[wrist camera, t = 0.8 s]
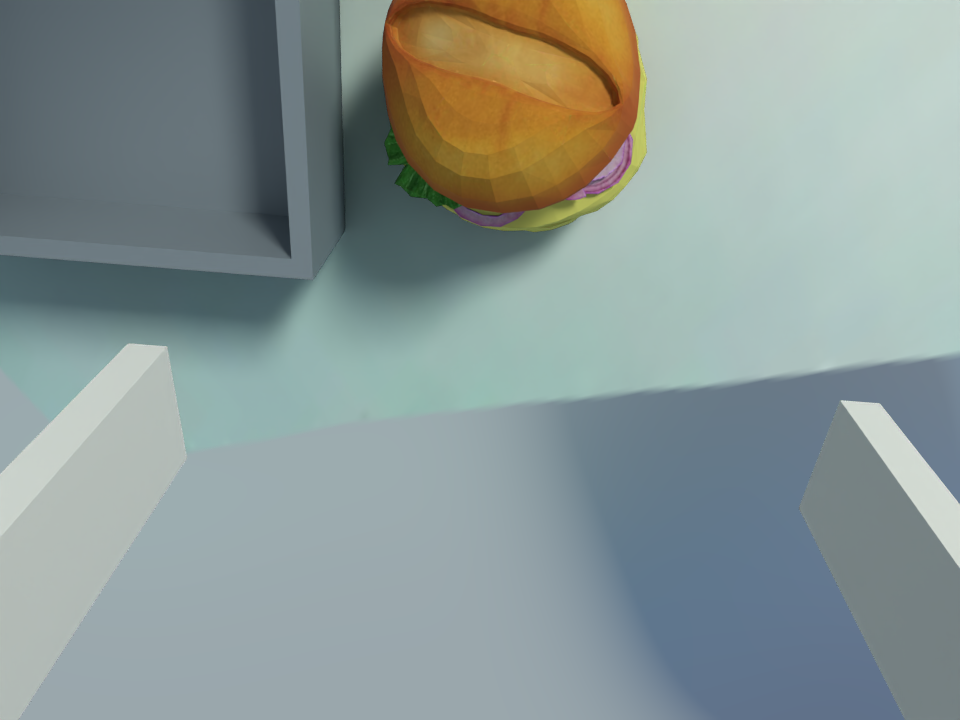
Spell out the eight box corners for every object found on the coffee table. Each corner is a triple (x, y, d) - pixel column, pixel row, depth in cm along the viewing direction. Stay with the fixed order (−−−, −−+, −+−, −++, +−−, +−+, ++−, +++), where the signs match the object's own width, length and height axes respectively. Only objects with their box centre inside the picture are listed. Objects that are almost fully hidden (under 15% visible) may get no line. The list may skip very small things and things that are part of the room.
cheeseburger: (443, 254, 33) (391, 291, 24) (377, 15, 31) (291, -50, 21) (660, 198, 32) (698, 215, 22) (608, -61, 29) (626, -169, 20)
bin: (-174, -299, 25) (-360, -370, 19) (333, -260, 25) (283, -321, 19) (-31, 199, 33) (-134, 244, 28) (345, 230, 33) (313, 280, 28)
